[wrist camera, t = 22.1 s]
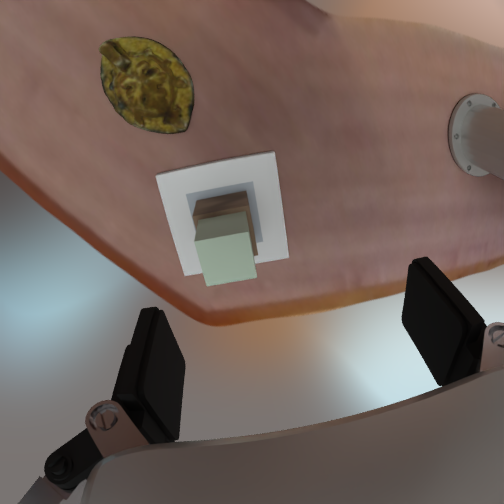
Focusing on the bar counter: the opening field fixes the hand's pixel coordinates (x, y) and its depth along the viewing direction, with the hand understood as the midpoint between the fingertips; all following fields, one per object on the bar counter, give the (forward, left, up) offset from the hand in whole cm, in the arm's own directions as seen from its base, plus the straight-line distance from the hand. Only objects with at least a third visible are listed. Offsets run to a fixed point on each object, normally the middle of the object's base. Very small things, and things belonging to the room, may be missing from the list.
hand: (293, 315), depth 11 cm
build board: (+4, +7, -28) cm, 29 cm away
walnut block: (+4, +7, -27) cm, 28 cm away
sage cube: (+4, +7, -22) cm, 24 cm away
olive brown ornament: (+10, -11, -29) cm, 32 cm away
